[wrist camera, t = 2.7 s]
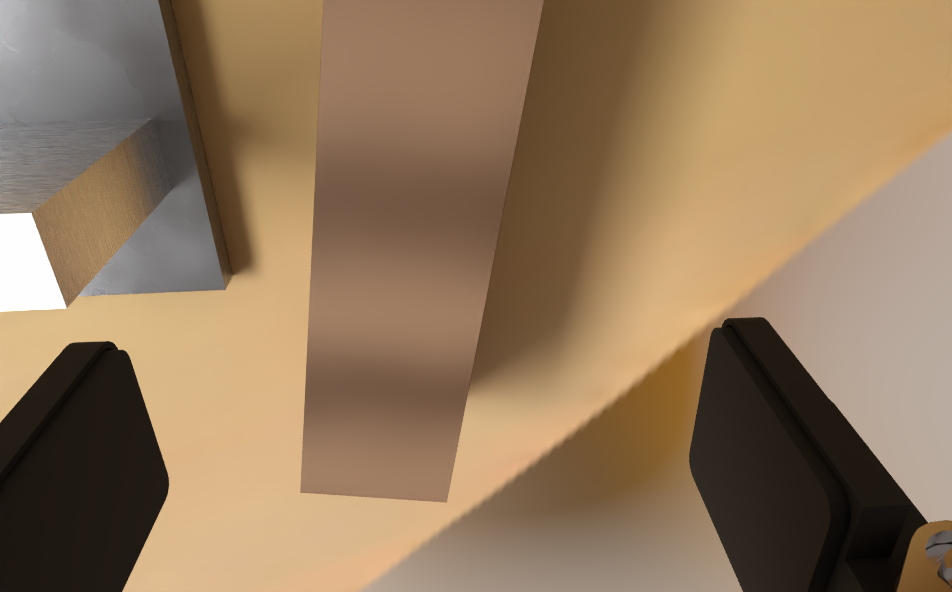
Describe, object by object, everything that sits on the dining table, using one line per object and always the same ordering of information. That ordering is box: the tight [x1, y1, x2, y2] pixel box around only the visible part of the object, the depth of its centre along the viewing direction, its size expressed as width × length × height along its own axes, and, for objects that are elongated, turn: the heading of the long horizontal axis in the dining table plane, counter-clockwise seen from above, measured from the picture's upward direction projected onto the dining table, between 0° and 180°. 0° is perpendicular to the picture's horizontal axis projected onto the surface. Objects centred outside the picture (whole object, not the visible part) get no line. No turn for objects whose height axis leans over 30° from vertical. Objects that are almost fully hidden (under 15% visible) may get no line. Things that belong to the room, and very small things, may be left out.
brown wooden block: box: [301, 0, 544, 502], centre depth 21 cm, size 22×5×6 cm, turn 171°
